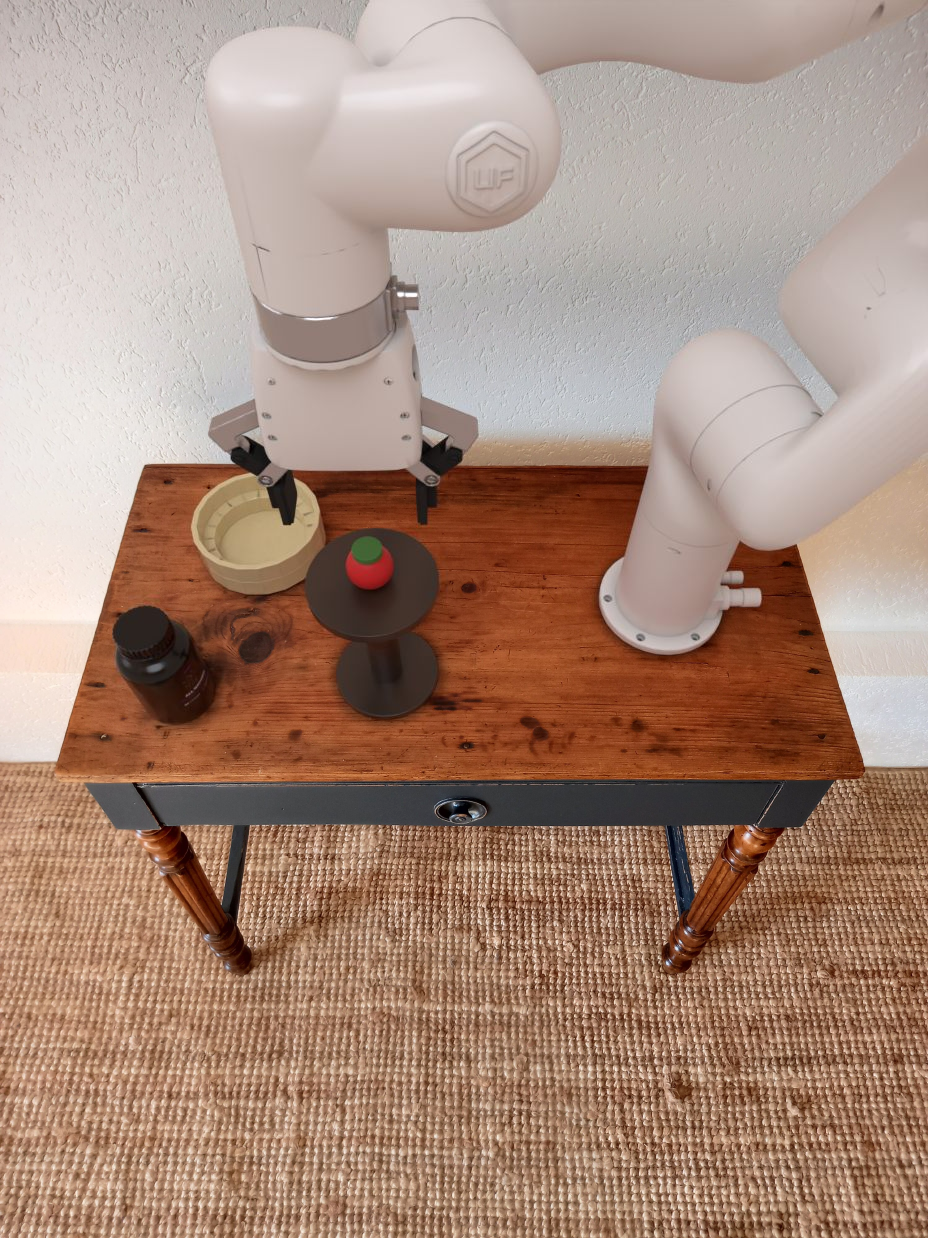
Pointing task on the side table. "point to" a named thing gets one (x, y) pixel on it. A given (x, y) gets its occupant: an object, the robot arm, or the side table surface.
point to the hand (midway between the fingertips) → (357, 510)
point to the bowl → (256, 536)
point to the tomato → (369, 563)
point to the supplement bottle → (162, 665)
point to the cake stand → (378, 624)
